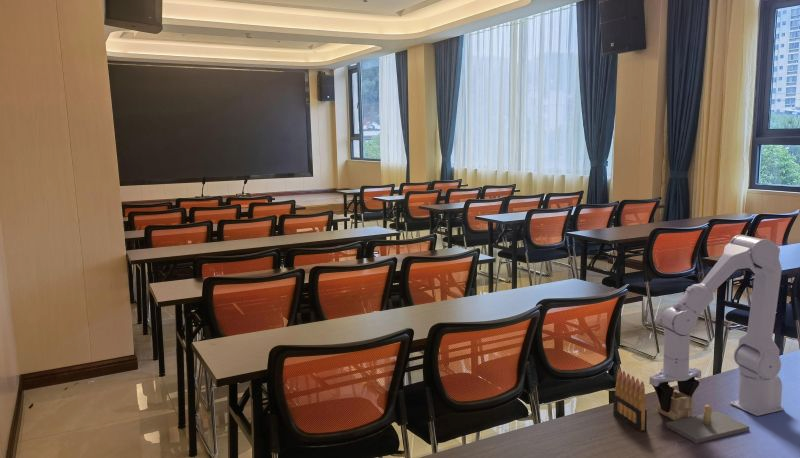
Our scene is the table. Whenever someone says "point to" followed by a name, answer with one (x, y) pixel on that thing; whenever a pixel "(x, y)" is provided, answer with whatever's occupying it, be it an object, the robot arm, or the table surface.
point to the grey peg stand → (707, 426)
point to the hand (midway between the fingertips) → (674, 408)
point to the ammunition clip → (630, 401)
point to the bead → (678, 406)
